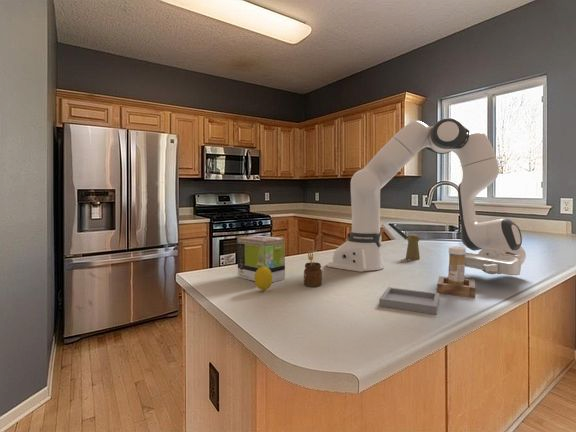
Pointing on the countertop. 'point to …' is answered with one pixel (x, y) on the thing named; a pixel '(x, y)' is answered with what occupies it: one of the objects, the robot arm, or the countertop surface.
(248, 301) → the countertop surface
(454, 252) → the sprinkles bottle
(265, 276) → the lemon
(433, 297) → the tray
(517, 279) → the countertop surface
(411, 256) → the olive tapered container
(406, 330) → the countertop surface
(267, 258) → the tea box
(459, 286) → the square wooden box
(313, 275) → the utensil holder
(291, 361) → the countertop surface
